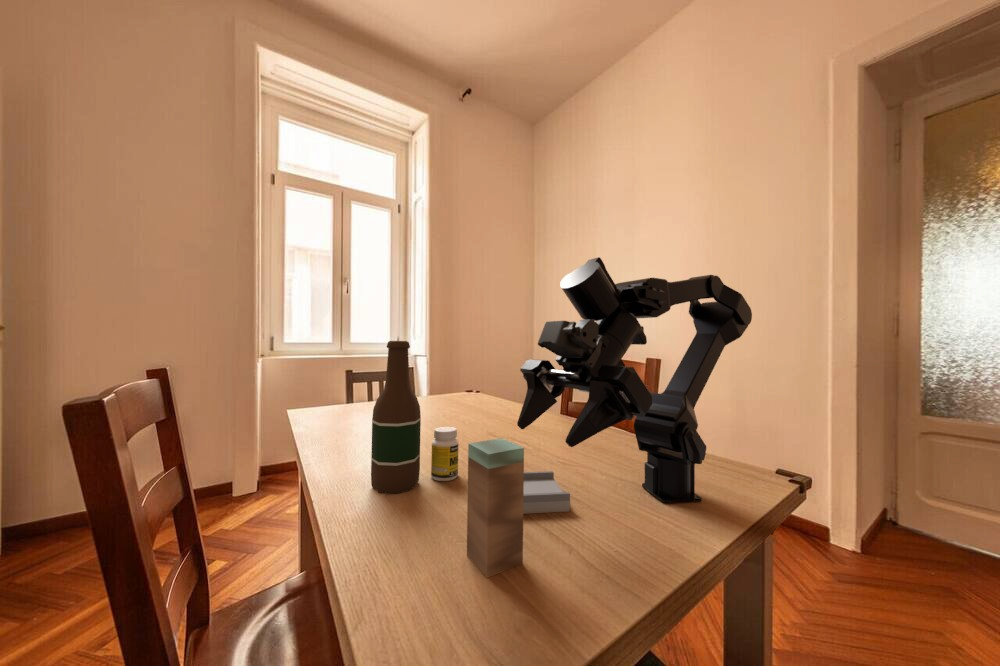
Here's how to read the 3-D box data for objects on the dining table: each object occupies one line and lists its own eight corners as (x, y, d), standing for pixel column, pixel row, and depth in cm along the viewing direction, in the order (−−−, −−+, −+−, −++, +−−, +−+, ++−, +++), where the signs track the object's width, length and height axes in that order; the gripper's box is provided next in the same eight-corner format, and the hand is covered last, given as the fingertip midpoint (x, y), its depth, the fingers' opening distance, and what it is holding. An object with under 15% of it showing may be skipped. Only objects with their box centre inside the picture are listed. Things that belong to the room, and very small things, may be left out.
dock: (552, 486, 60) (552, 471, 60) (569, 511, 51) (570, 493, 51) (480, 489, 59) (481, 473, 59) (486, 515, 50) (486, 497, 50)
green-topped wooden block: (500, 543, 43) (501, 438, 43) (522, 563, 39) (524, 447, 39) (466, 555, 40) (468, 443, 41) (486, 577, 37) (488, 454, 37)
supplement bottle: (452, 483, 61) (453, 433, 61) (426, 480, 62) (427, 431, 62) (461, 473, 66) (462, 426, 66) (437, 470, 67) (437, 425, 67)
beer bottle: (417, 474, 65) (419, 341, 65) (421, 491, 57) (424, 341, 58) (371, 479, 62) (374, 340, 63) (370, 497, 55) (373, 340, 55)
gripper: (531, 306, 55) (465, 382, 48) (636, 293, 39) (558, 403, 33) (569, 357, 59) (512, 433, 52) (678, 364, 43) (616, 474, 37)
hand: (541, 435), depth 43 cm, fingers open, 9 cm apart
